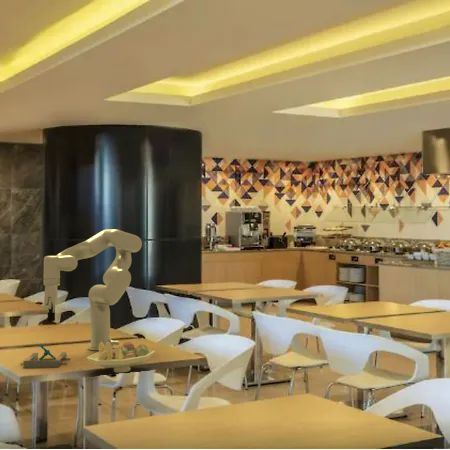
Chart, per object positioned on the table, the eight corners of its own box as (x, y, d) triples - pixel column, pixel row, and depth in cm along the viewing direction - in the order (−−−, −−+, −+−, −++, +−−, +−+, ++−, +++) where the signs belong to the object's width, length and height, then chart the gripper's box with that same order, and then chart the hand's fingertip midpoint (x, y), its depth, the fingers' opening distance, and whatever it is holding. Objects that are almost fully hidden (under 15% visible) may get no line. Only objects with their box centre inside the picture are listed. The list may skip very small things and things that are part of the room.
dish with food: (80, 378, 302) (80, 342, 302) (95, 364, 330) (95, 332, 330) (149, 378, 301) (149, 342, 301) (158, 365, 329) (158, 332, 329)
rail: (71, 357, 349) (71, 350, 349) (64, 367, 325) (64, 360, 325) (28, 358, 347) (28, 351, 347) (17, 368, 323) (17, 361, 323)
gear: (57, 358, 337) (41, 343, 336) (47, 368, 336) (31, 352, 335) (56, 357, 348) (41, 342, 347) (47, 367, 346) (31, 352, 345)
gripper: (46, 280, 361) (45, 319, 361) (40, 283, 346) (40, 322, 346) (62, 281, 362) (61, 319, 362) (57, 283, 347) (56, 322, 347)
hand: (51, 320), depth 354 cm, fingers closed
